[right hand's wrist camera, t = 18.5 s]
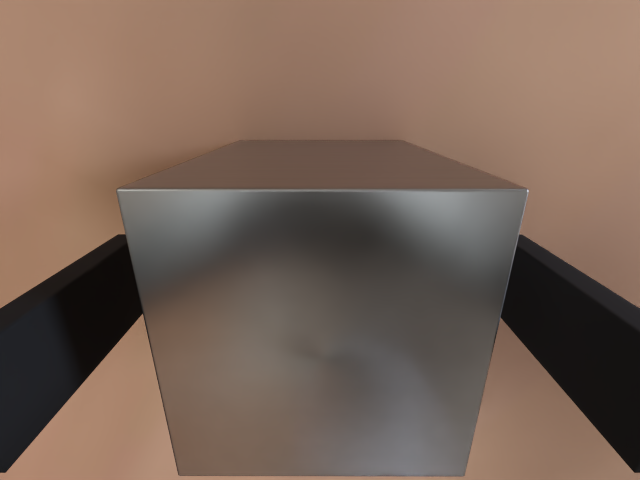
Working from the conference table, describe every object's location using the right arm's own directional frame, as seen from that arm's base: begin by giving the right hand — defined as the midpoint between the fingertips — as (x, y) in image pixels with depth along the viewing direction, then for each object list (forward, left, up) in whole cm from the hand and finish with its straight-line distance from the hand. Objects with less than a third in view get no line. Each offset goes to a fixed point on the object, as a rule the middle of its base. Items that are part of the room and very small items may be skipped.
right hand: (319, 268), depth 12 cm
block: (0, 0, -6) cm, 6 cm away
